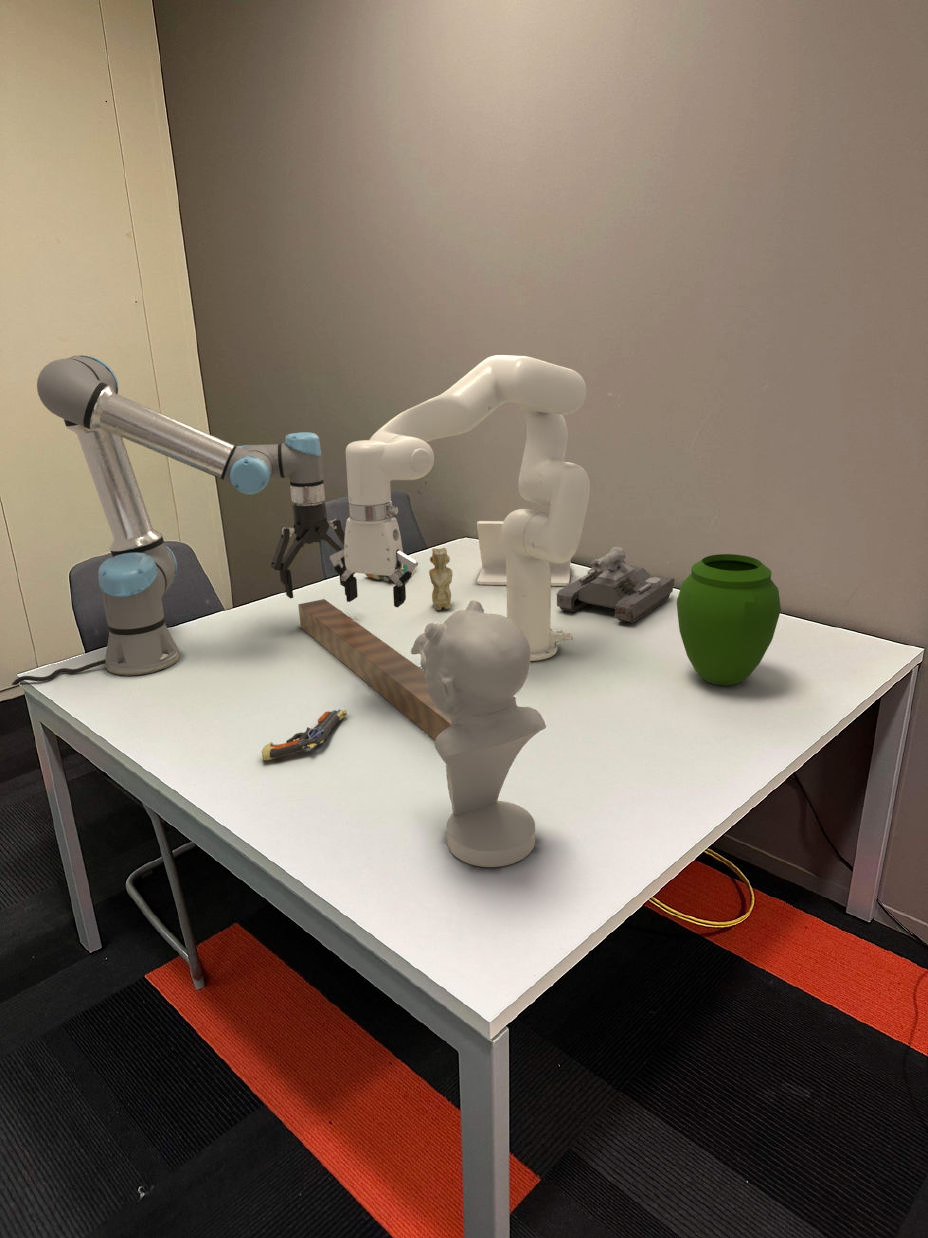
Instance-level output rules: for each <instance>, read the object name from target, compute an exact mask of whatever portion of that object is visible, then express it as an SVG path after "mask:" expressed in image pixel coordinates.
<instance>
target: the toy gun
mask: <svg viewBox="0 0 928 1238" xmlns="http://www.w3.org/2000/svg"><path fill="white" fill-rule="evenodd" d="M347 712H348V710H347V709H340V708H339V709H338V710H336V709H333V710H332V711H330V710H329V711H324V713H323V714H322V715H321V716H320V717H319V718H318V719H317V724H316V726H314V727H313V728H311V727H306V730H305V731H304V732H297V733H295V734H294V735H292V736H291V737H290V738H289V739H287V740H286V741H285V742H284V743H280V744H274V743H273V742H272V741H271V742H269V743H267V744H265V746H264V747H262V749H261V755H262V760H263V761H271V760H274V759H278V758H283V757H285V756H288V755H292V754H295V753H299V752H302V751H305V750H307V749H309V750H312V749H314V748H315V747H317V746H318V745H320V744H323V743H324V742H325V741H326V739H327V738H328V737H329V736H330V734H331V732H332V730H333V729H334V728H335V726H336V725H337V724H338V723H339V722H340V721H341V720H342V719H343V718H344V717H347V715H348V713H347Z"/></svg>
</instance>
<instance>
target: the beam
mask: <svg viewBox="0 0 928 1238" xmlns="http://www.w3.org/2000/svg"><path fill="white" fill-rule="evenodd" d="M297 605H298V606H297V607H298V615H299V624H300V628H301V629H302V630H303V631H304V632H305V633H307V634H308V635H309V636H310V637H312V639H314V640H315V641H316V642H317V643H318V644H320V645H321V646H322V647H323V648H324V649H326V650H327V651H328V652H329V653H330V654H332V655H333V656H334V657H335V658H336V659H337V660H339V662H341V663H342V664H344V665H345V667H347V668H348V669H349V670H350V671H351V672H353V673H354V674H355V675H357V676H358V678H360V679H361V680H362V681H364V683H366V684H367V685H368V686H370V688H372V689H373V690H374V691H375V692H377V693H378V694H379V695H380V696H381V697H383V698H384V699H385V700H386V701H387V702H389V703H390V704H391V705H392V706H393V707H394V708H395V709H397V710H398V711H399V712H400V713H402V714H403V715H404V716H405V717H406V718H407V719H409V720H410V721H411V722H412V723H413V724H415V725H416V726H417V727H418V728H419V729H421V730H422V731H423V732H424V733H425V734H426V735H428V736H429V737H430V738H431V739H433V741H435V740H436V737H437V736H438V735H439V734H440V733H441V732H442V731H443V730H445V729H446V728H448V727H450V726H451V720H450V719H449V718H448V717H447V716H446V715H443V714H442V713H441V712H440V711H439V710H438V709H437V708H436V706H435V704H434V703H433V702H432V701H431V698H430V695H429V693H428V691H427V683H426V681H425V671H424V670H423V669H422V668H421V667H419V666H418V665H417V664H415V663H413V662H412V661H411V660H409V659H408V658H407V657H405V656H404V655H403V654H402V653H400V652H399V651H397V650H395V649H394V648H393V647H391V646H390V645H388V644H387V643H386V642H385V641H383V640H381V639H380V638H379V637H377V636H376V635H375V634H374V633H372V632H371V631H369V630H368V629H366V628H365V627H364V626H363V625H361V624H359V623H358V622H357V621H355V619H353V618H352V617H350V616H349V615H347V614H346V613H344V612H343V611H342V610H340V609H339V608H338V607H336V606H335V605H334V604H332V603H331V602H329V601H328V600H326V599H325V598H322V599H317V600H312V601H307V602H302V603H298V604H297Z"/></svg>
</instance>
